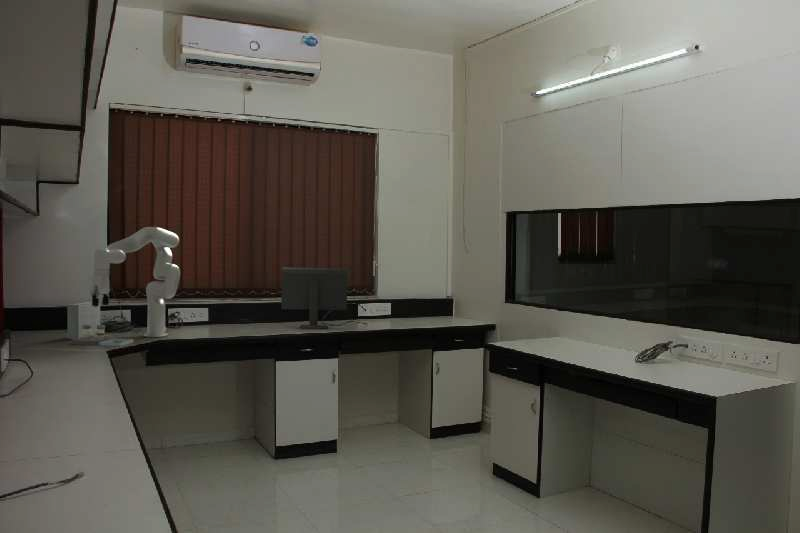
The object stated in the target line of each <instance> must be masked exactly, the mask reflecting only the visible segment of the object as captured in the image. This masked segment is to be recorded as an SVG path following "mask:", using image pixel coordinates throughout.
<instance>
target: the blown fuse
mask: <svg viewBox="0 0 800 533" xmlns="http://www.w3.org/2000/svg"><path fill="white" fill-rule="evenodd" d="M105 329H106V324H100V325H97V339H102V340H103V339H104V335H106V334H105V333H106V332H105Z"/></svg>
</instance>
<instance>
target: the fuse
mask: <svg viewBox="0 0 800 533" xmlns="http://www.w3.org/2000/svg"><path fill="white" fill-rule="evenodd" d="M90 330H91V325H83V339H91V338H90Z"/></svg>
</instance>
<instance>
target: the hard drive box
mask: <svg viewBox="0 0 800 533" xmlns="http://www.w3.org/2000/svg"><path fill="white" fill-rule="evenodd" d="M83 325H91V330H90V335H97V325H101V302H99V306H92V301H86V302H78V303H68V304H67V340H74V339H78V338H82V337H83Z"/></svg>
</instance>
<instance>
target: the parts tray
mask: <svg viewBox="0 0 800 533" xmlns="http://www.w3.org/2000/svg"><path fill="white" fill-rule="evenodd" d="M132 343H134V339H133V338H115V339H110V340H107V341H103V342H99V345H98V346H103V347H105V346H106V347H122V346H125V345H129V344H132Z"/></svg>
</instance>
